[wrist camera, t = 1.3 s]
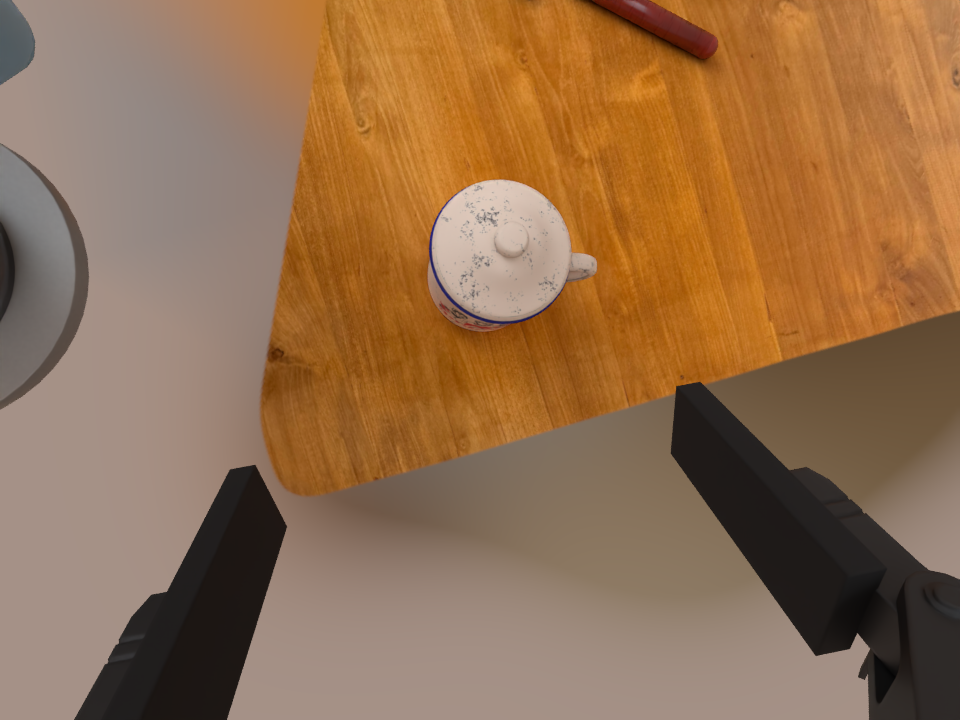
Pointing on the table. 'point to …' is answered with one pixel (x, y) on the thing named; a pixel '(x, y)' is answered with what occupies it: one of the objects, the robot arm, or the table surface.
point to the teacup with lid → (500, 256)
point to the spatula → (664, 25)
